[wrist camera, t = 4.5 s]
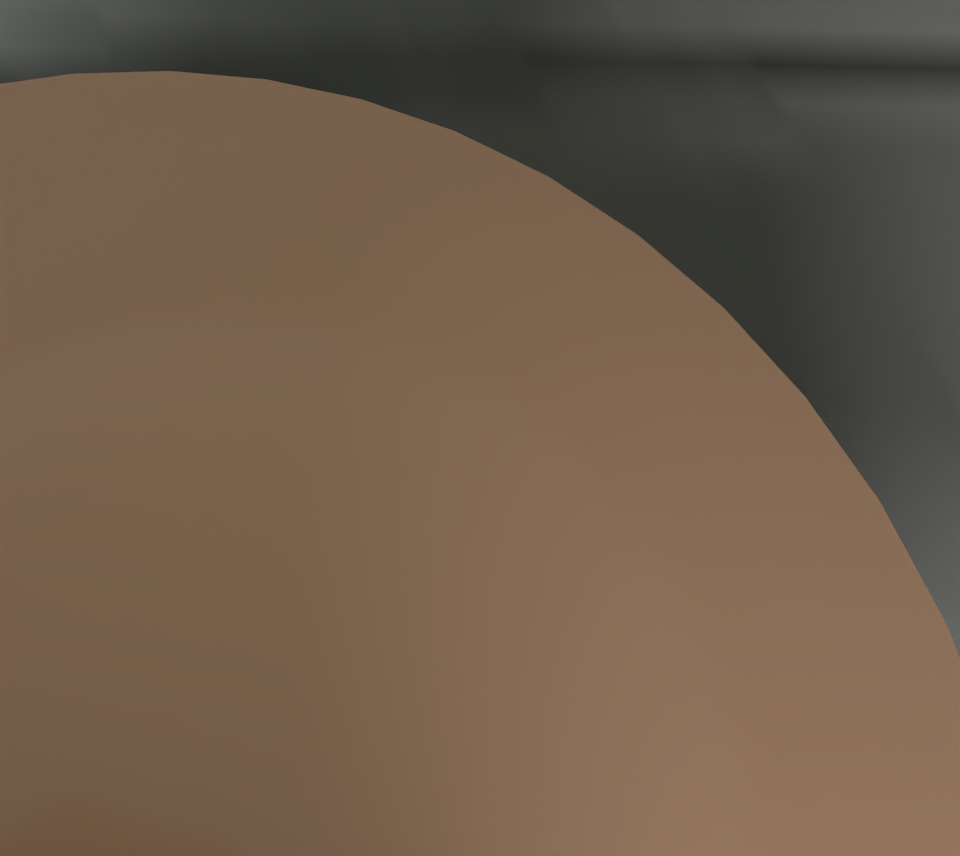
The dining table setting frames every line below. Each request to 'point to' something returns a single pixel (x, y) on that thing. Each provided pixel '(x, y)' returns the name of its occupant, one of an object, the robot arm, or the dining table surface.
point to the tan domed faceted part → (417, 514)
